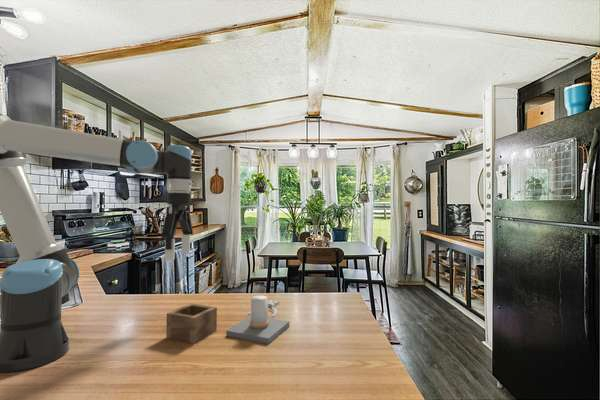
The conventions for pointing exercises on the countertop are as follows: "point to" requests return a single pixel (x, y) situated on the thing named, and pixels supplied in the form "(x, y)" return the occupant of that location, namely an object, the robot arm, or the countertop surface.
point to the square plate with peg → (258, 324)
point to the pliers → (272, 304)
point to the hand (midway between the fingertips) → (178, 256)
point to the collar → (191, 323)
